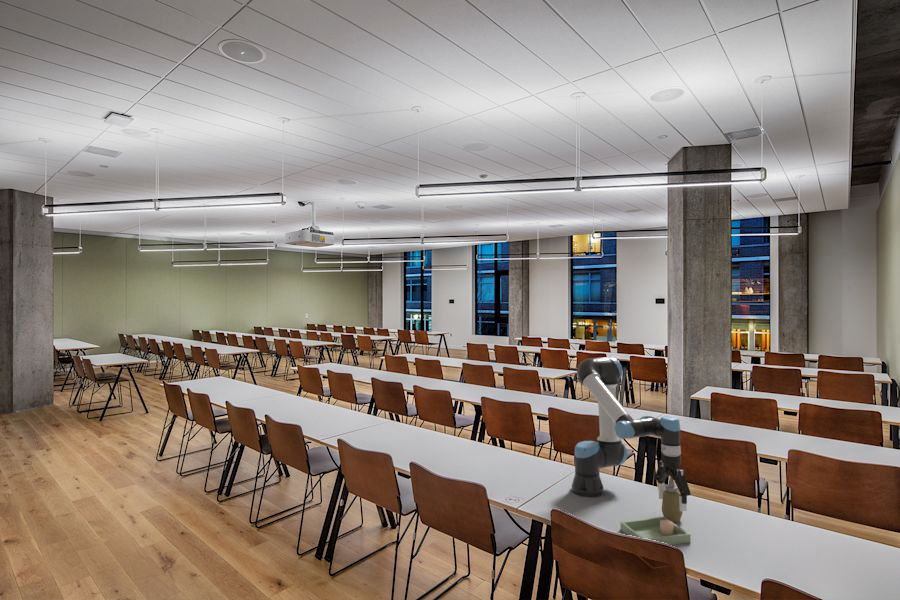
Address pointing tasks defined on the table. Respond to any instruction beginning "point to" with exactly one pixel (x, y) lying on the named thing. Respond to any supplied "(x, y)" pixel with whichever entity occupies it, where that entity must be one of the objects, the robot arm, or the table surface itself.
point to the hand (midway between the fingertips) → (672, 504)
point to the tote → (654, 531)
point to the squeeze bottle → (671, 502)
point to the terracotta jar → (666, 528)
